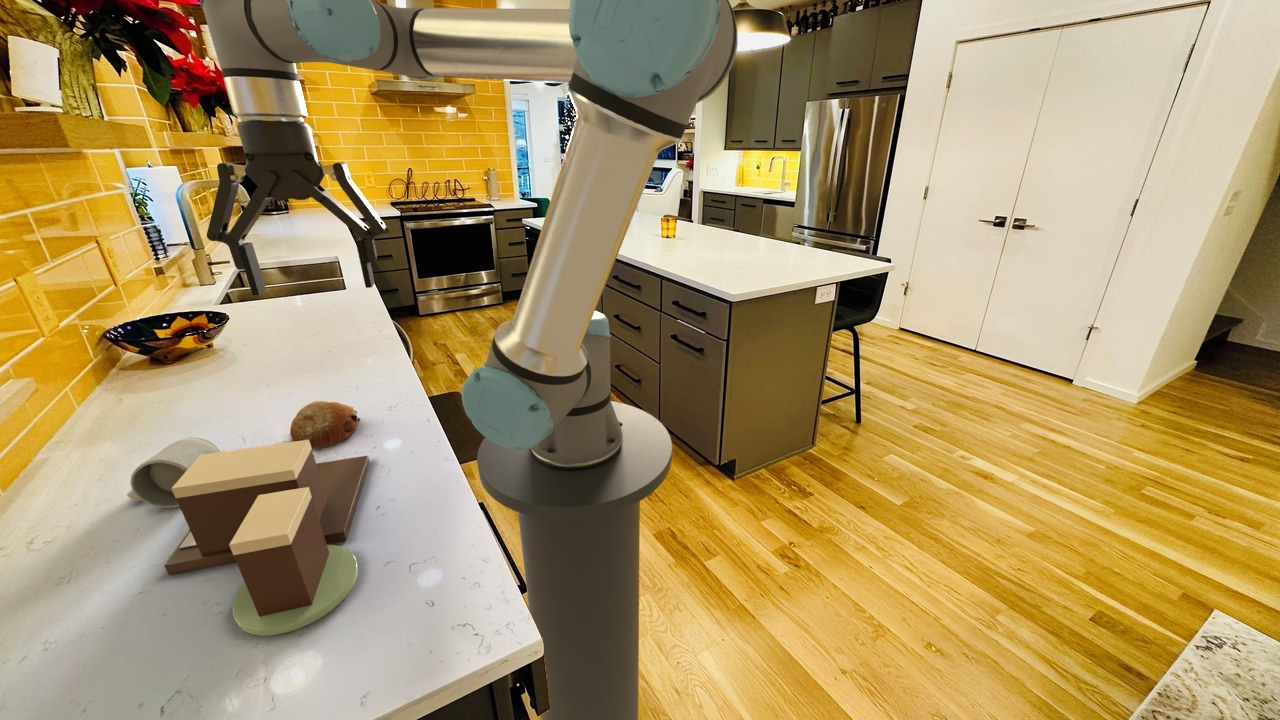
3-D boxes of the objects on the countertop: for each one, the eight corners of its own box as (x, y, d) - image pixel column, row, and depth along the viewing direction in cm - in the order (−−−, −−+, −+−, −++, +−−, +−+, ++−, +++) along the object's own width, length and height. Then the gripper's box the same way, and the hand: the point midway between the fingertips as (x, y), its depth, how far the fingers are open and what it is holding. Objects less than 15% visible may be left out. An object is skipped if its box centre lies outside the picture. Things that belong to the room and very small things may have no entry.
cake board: (370, 463, 80) (368, 455, 80) (346, 540, 65) (344, 531, 64) (230, 484, 75) (227, 476, 75) (168, 575, 59) (163, 565, 59)
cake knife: (228, 480, 74) (226, 473, 73) (244, 477, 74) (242, 471, 74) (179, 549, 61) (176, 542, 61) (199, 546, 62) (195, 538, 61)
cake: (327, 500, 70) (309, 439, 66) (314, 534, 64) (292, 469, 60) (225, 518, 66) (200, 454, 62) (201, 556, 60) (171, 488, 56)
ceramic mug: (233, 470, 78) (216, 428, 75) (204, 504, 71) (183, 459, 68) (154, 480, 76) (133, 437, 73) (116, 516, 69) (90, 470, 66)
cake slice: (329, 552, 62) (308, 486, 58) (312, 605, 55) (287, 533, 51) (282, 562, 60) (258, 494, 56) (258, 617, 53) (228, 544, 49)
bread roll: (316, 440, 93) (284, 409, 89) (367, 410, 95) (337, 379, 90) (307, 469, 85) (271, 437, 81) (363, 436, 86) (330, 403, 82)
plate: (366, 541, 65) (364, 535, 64) (347, 618, 54) (345, 612, 54) (258, 563, 61) (256, 556, 61) (215, 649, 51) (212, 642, 50)
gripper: (388, 123, 68) (415, 276, 76) (165, 119, 61) (221, 288, 69) (380, 121, 61) (410, 289, 70) (128, 116, 54) (196, 303, 63)
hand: (316, 289), depth 70 cm, fingers open, 13 cm apart
